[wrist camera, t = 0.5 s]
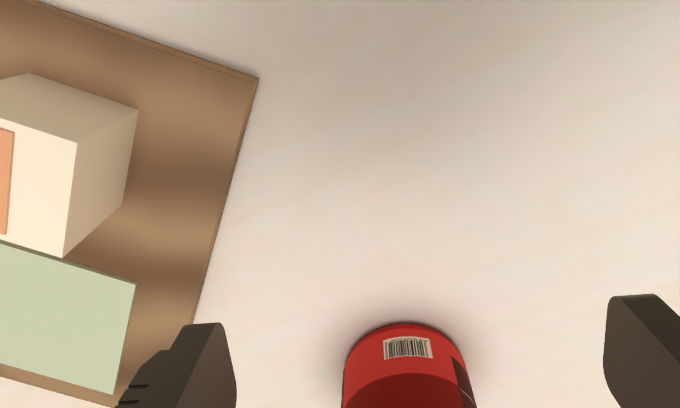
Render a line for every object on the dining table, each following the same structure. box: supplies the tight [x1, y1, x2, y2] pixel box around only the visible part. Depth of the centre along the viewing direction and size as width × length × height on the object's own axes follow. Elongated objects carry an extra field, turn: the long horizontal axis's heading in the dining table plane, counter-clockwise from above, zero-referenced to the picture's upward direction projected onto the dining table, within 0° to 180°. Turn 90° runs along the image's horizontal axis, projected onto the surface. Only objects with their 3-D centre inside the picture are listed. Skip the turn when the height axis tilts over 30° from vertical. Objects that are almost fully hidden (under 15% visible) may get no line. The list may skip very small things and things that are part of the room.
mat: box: [0, 240, 138, 395], centre depth 31 cm, size 9×9×1 cm
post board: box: [0, 0, 259, 408], centre depth 27 cm, size 24×16×6 cm, turn 161°
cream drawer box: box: [0, 73, 139, 258], centre depth 24 cm, size 6×6×6 cm
